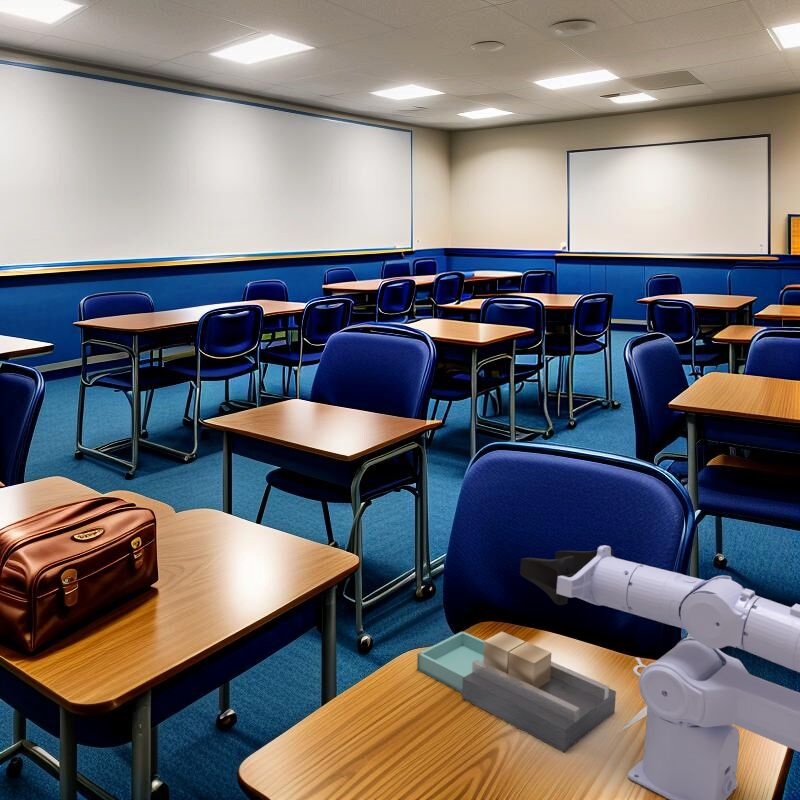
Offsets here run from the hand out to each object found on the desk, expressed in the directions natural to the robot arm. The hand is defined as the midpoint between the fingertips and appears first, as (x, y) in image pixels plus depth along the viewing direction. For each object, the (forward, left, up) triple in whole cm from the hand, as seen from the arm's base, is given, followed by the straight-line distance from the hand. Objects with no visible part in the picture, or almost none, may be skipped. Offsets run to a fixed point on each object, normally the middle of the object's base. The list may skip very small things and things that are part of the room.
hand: (539, 562), depth 95 cm
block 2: (+1, -1, -17) cm, 17 cm away
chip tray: (+13, -1, -20) cm, 24 cm away
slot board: (0, -1, -20) cm, 20 cm away
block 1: (+6, -1, -17) cm, 18 cm away
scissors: (-11, -13, -21) cm, 27 cm away
